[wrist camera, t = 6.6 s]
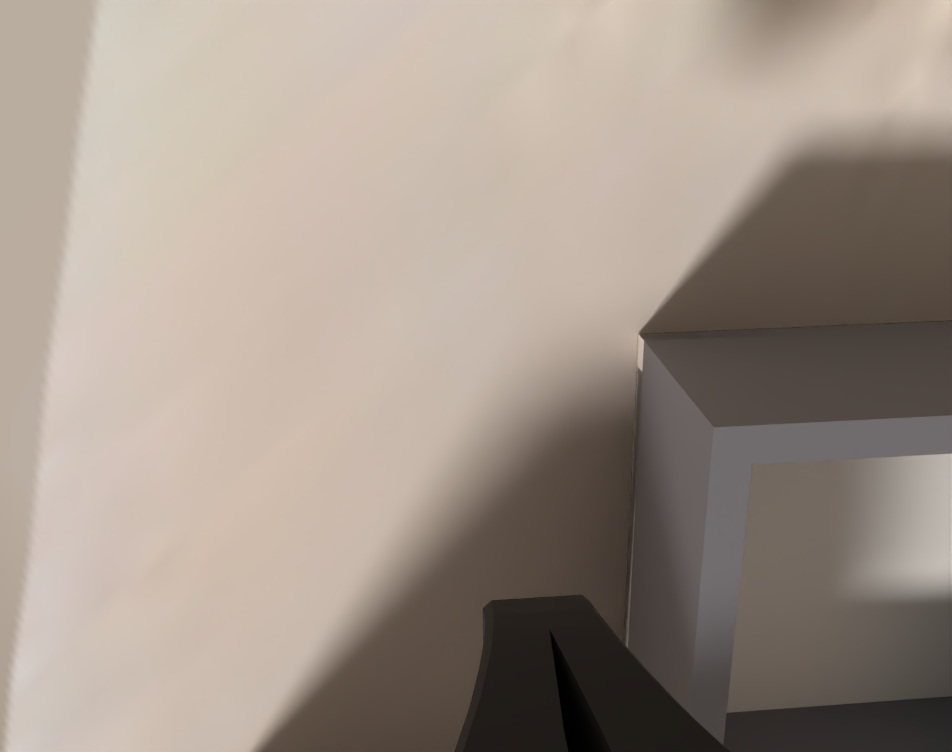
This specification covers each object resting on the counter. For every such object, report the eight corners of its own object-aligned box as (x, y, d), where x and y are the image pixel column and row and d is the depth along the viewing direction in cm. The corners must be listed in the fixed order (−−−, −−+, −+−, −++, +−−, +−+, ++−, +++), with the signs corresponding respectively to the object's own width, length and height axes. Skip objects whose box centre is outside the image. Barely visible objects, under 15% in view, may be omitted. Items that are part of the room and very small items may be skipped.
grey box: (1016, 700, 27) (1163, 858, 22) (619, 730, 26) (673, 901, 21) (1111, 313, 23) (1321, 396, 17) (638, 333, 22) (713, 427, 17)
